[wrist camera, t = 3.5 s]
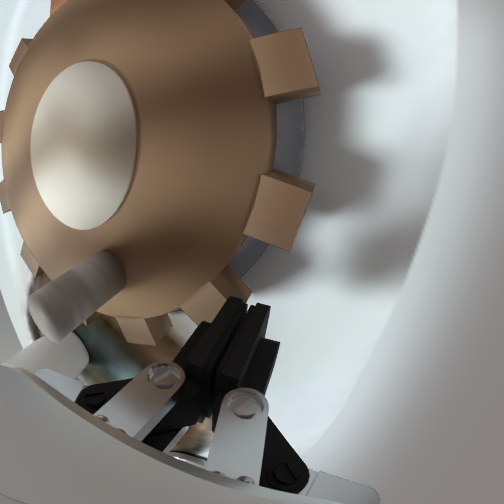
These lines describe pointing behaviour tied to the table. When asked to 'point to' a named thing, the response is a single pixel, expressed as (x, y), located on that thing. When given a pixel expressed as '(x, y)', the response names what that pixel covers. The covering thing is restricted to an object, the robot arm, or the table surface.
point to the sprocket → (147, 158)
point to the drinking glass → (53, 356)
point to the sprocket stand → (287, 138)
